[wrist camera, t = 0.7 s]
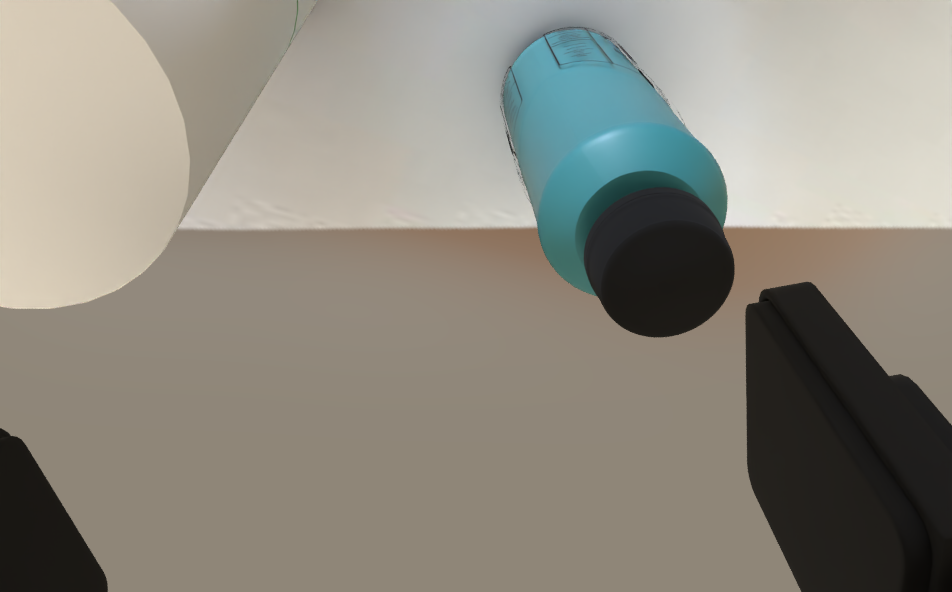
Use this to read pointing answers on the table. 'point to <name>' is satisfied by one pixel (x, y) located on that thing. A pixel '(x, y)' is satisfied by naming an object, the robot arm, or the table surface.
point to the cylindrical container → (118, 129)
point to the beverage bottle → (618, 185)
